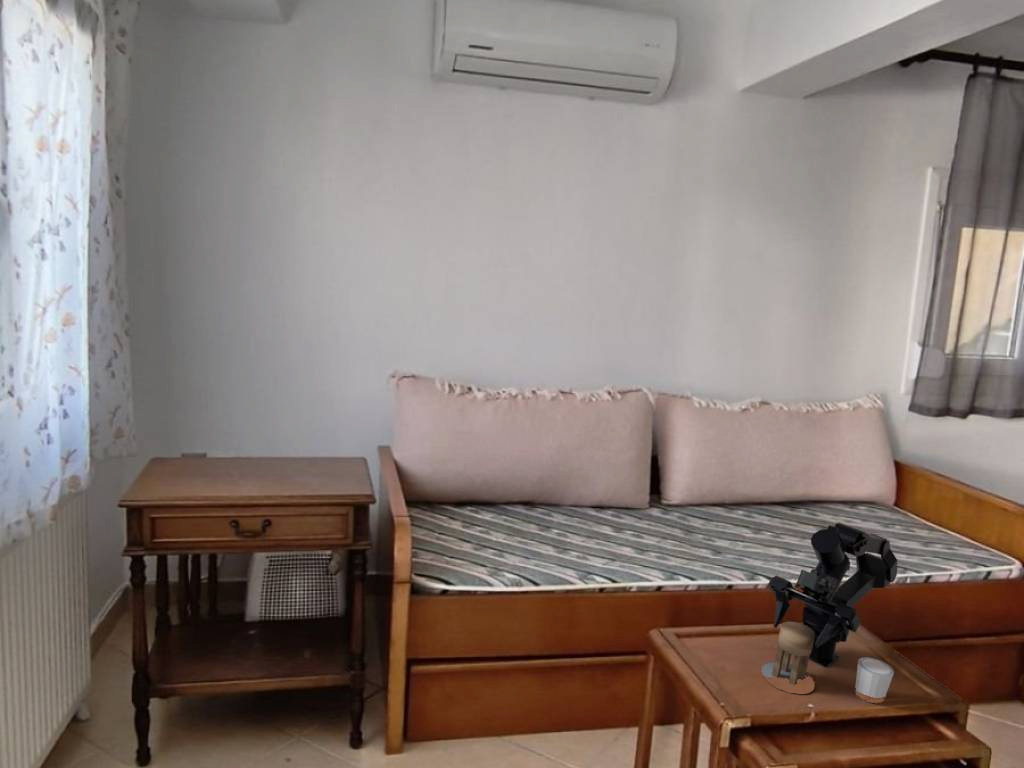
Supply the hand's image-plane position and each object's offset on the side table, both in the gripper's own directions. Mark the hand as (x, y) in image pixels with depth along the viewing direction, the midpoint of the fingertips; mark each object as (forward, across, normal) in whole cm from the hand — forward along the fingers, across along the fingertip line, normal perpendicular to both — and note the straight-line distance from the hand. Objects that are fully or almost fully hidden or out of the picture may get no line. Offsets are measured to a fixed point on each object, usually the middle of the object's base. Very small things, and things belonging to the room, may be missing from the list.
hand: (794, 636), depth 165 cm
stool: (+6, 0, +8) cm, 10 cm away
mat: (+7, 0, +8) cm, 10 cm away
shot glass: (0, +14, +14) cm, 20 cm away
